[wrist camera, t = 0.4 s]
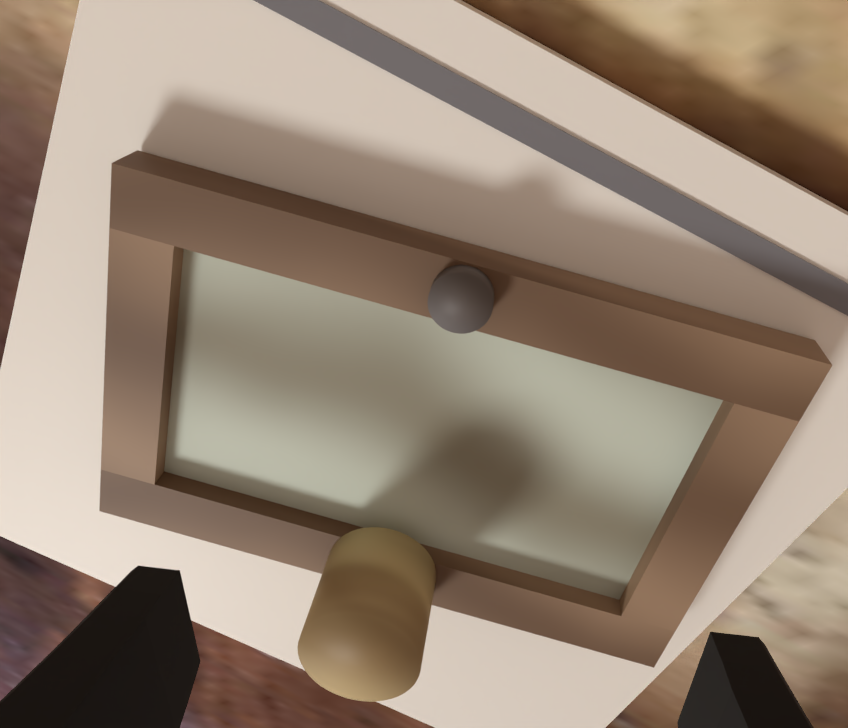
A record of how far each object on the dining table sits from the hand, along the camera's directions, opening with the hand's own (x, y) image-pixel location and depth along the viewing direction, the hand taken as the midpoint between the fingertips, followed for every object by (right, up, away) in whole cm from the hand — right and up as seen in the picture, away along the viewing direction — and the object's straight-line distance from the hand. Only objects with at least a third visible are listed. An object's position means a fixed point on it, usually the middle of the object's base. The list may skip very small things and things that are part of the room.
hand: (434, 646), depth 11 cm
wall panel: (-1, +2, +10) cm, 11 cm away
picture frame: (0, +2, +9) cm, 10 cm away
